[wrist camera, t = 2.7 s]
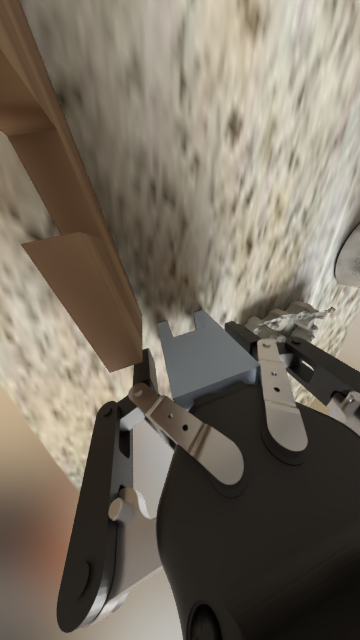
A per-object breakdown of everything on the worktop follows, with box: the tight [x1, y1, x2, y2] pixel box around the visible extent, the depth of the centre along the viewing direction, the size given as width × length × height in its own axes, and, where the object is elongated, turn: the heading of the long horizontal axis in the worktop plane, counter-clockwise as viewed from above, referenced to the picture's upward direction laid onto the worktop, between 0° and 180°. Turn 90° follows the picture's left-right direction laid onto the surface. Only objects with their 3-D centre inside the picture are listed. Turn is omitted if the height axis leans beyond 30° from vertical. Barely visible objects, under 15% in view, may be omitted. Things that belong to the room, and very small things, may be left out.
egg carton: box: [244, 301, 335, 343], centre depth 19 cm, size 11×8×4 cm
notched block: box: [157, 310, 260, 411], centre depth 13 cm, size 6×3×9 cm, turn 102°
